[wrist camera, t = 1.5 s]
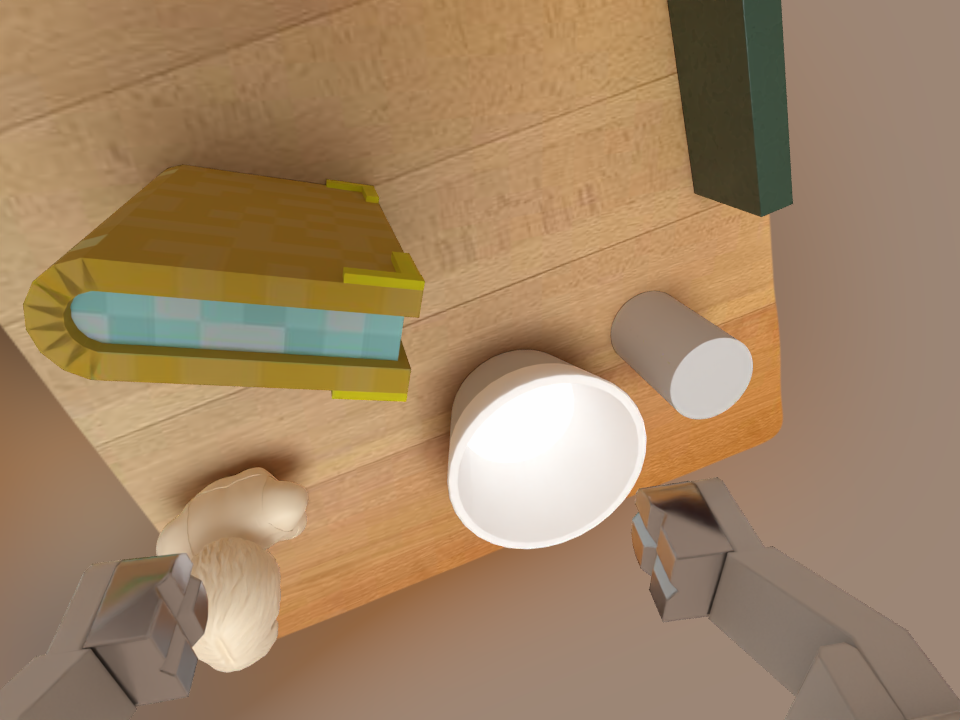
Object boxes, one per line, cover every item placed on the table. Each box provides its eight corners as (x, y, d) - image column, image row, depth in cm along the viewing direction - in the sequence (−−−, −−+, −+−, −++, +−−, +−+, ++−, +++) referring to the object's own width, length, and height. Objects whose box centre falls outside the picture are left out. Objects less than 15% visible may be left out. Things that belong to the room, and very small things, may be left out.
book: (373, 186, 52) (424, 281, 30) (364, 262, 54) (406, 401, 33) (149, 153, 46) (15, 239, 25) (151, 240, 49) (32, 387, 27)
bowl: (627, 416, 69) (677, 471, 60) (488, 511, 70) (516, 581, 61) (547, 288, 60) (592, 331, 51) (388, 401, 61) (404, 463, 52)
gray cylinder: (610, 368, 66) (668, 427, 56) (611, 298, 62) (672, 347, 52) (678, 354, 67) (747, 408, 57) (683, 284, 64) (757, 329, 53)
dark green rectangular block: (665, -14, 51) (740, -28, 42) (697, -26, 51) (779, -43, 42) (694, 193, 59) (761, 217, 51) (722, 182, 60) (793, 203, 51)
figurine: (202, 545, 63) (164, 732, 45) (157, 477, 58) (95, 656, 41) (329, 499, 64) (339, 663, 47) (295, 429, 60) (292, 582, 42)
